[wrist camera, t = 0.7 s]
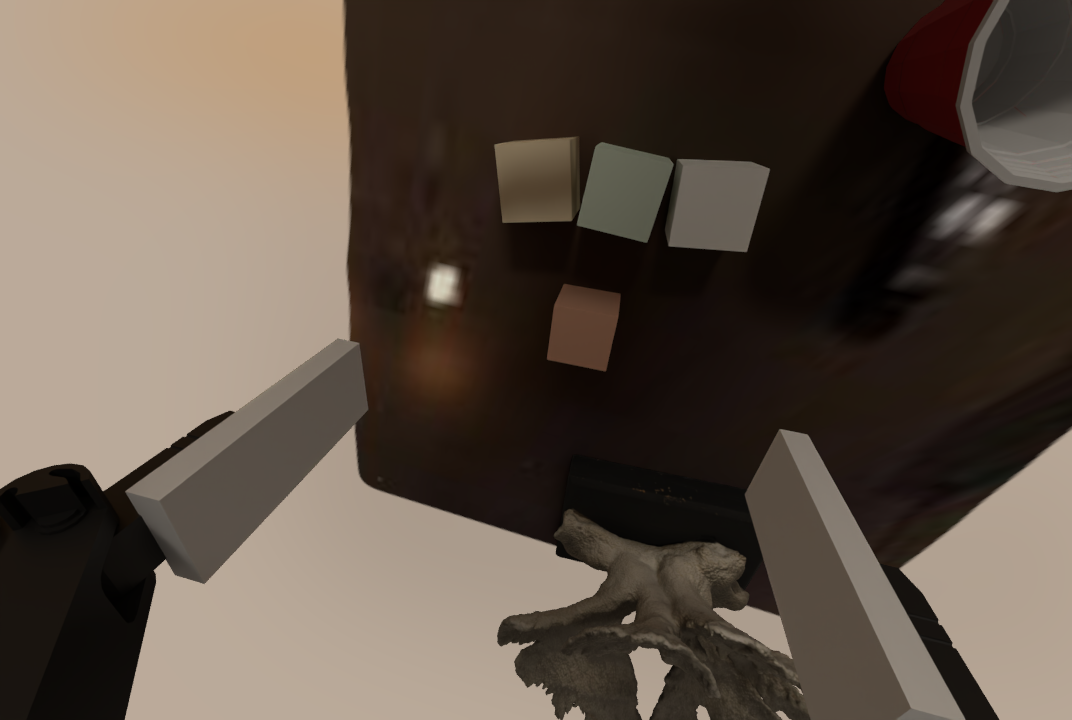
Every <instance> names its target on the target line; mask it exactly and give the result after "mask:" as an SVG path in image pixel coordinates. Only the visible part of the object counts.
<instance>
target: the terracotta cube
mask: <svg viewBox="0 0 1072 720" xmlns="http://www.w3.org/2000/svg"><path fill="white" fill-rule="evenodd" d="M620 296H621V294H619V293H614V292H608V291H602V290H597V289H591V288H585V287H580V286H574V285H568V284H564V285H563V287H562V289H561V291H560V294H559V296H558V298H557V300H556V302H555V305H554V311H553V318H552V325H551V333H550V340H549V347H548V354H547V360H551V361H556V362H561V363H566V364H571V365H576V366H581V367H586V368H591V369H596V370H601V371H606V368H607V364H608V360H609V355H610V351H611V347H612V342H613V338H614V334H615V329H616V325H617V321H618V316H619V306H620Z"/></svg>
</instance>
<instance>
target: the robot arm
mask: <svg viewBox="0 0 1072 720" xmlns="http://www.w3.org/2000/svg"><path fill="white" fill-rule="evenodd" d="M367 410H368V404H367V397H366V390H365V382H364V375H363V368H362V360H361V353H360V346H359V343H356V342H351V341H347V340H341V339H337V340H335V341H334V342H333V343H331V344H330V345H328V346H327V347H326V348H324V349H323V350H321V351H320V352H319V353H317V354H316V355H315V356H313V357H312V358H310V359H309V360H307V361H306V362H305V363H303V364H302V365H301V366H299V367H298V368H296V369H295V370H294V371H292V372H291V373H290V374H288V375H287V376H285V377H284V378H282V379H281V380H280V381H278V382H277V383H275V384H274V385H273V386H271V387H270V388H269V389H267V390H266V391H264V392H263V393H261V394H260V395H259V396H258V397H256V398H255V399H253V400H252V401H250V402H249V403H248V404H246V405H245V406H244V407H242V408H241V409H239V410H238V411H236V412H233V411H228V412H226V413H223V414H221V415H219V416H216V417H214V418H212V419H210V420H207V421H205V422H204V423H202V424H201V425H199V426H198V427H197V428H195V429H194V430H192V431H191V432H189V433H188V434H187V436H186V437H182V438H181V439H179V440H178V441H176V442H175V443H173V444H172V445H171V447H170V448H166V449H165V450H163V451H162V452H160V453H159V454H157V455H156V456H154V457H153V458H152V459H150V460H149V461H147V462H146V463H144V464H143V465H141V466H140V467H138V468H137V469H136V470H134V471H133V472H131V473H130V474H128V475H127V476H126V477H124V478H123V479H121V480H120V481H118V482H117V483H115V484H114V485H113V486H111V487H109V488H108V489H107V490H105V491H102V490H101V488H100V486H99V485H98V483H97V481H96V480H95V478H94V477H93V475H92V474H91V472H90V471H89V470H88V469H87V468H86V467H84V466H83V465H77V464H62V465H54V466H51V467H47V468H43V469H40V470H36V471H33V472H31V473H29V474H27V475H24V476H22V477H20V478H18V479H15V480H14V481H12V482H11V483H9V484H7V485H6V486H4V487H3V488H1V489H0V720H125V715H126V711H127V707H128V702H129V698H130V693H131V689H132V685H133V681H134V676H135V672H136V667H137V663H138V659H139V654H140V650H141V646H142V641H143V637H144V632H145V628H146V624H147V620H148V615H149V611H150V606H151V602H152V597H153V593H154V588H155V585H156V574H155V572H154V571H153V570H154V569H156V568H157V567H158V566H159V565H160V564H161V563H162V562H163V561H164V560H165V559H166V560H167V562H168V564H169V566H170V567H171V569H172V571H173V572H174V574H175V575H177V576H180V577H183V578H187V579H190V580H193V581H197V582H200V583H203V584H204V583H206V582H207V581H208V580H209V578H210V577H211V576H212V575H213V574H214V573H215V572H216V571H217V570H218V569H219V568H220V566H222V565H223V563H225V561H226V560H227V559H228V558H229V557H230V556H231V555H232V554H233V553H234V552H235V551H236V550H237V549H238V548H239V547H240V545H241V544H242V543H243V542H244V541H245V540H246V539H247V538H248V537H249V536H250V535H251V534H252V533H253V532H254V531H255V529H256V528H257V527H258V526H259V525H260V524H261V523H262V522H263V521H264V520H265V519H266V518H267V517H268V516H269V514H271V512H272V511H273V510H274V509H275V508H276V507H277V506H278V505H279V504H280V503H281V502H282V501H283V500H284V499H285V498H286V496H288V494H289V493H290V492H291V491H292V490H293V489H294V488H295V487H296V486H297V485H298V484H299V483H300V482H301V481H302V480H303V478H304V477H305V476H306V475H307V474H308V473H309V472H310V471H311V470H312V469H313V468H314V467H315V465H317V464H318V463H319V461H320V460H321V459H322V458H323V457H324V456H325V455H326V454H327V453H328V452H329V451H330V450H331V449H332V448H333V446H334V445H335V444H336V443H337V442H338V441H339V440H340V439H341V438H342V437H343V436H344V435H345V434H346V433H347V432H348V431H349V430H350V429H351V427H352V426H353V425H354V424H355V423H356V422H357V421H358V420H359V419H360V418H361V417H362V416H363V415H364V414H365V413H366V411H367ZM745 498H746V501H747V504H748V508H749V511H750V515H751V518H752V521H753V525H754V528H755V532H756V535H757V539H758V542H759V545H760V549H761V552H762V556H763V559H764V562H765V566H766V569H767V573H768V576H769V579H770V583H771V586H772V590H773V593H774V597H775V600H776V603H777V607H778V610H779V614H780V617H781V620H782V624H783V627H784V631H785V634H786V637H787V641H788V644H789V647H790V651H791V654H792V658H793V661H794V665H795V668H796V672H797V675H798V678H799V682H800V685H801V689H802V692H803V695H804V699H805V702H806V706H807V709H808V712H809V716H810V719H811V720H999V718H998V717H997V715H996V713H995V712H994V710H993V708H992V707H991V705H990V704H989V702H988V700H987V699H986V697H985V695H984V694H983V692H982V690H981V689H980V687H979V685H978V684H977V682H976V680H975V679H974V677H973V676H972V674H971V673H970V671H969V669H968V667H967V666H966V664H965V663H964V661H963V659H962V658H961V656H960V654H959V653H958V651H957V650H956V649H955V648H953V647H952V641H951V640H950V638H949V636H948V635H947V633H946V631H945V630H944V628H943V627H942V625H939V624H938V618H937V617H936V615H935V613H934V612H933V610H932V608H931V607H930V605H929V604H928V602H927V600H926V599H925V597H924V595H923V594H922V593H921V591H920V590H919V589H918V588H916V586H915V585H914V584H913V583H912V582H911V581H910V580H909V579H908V578H907V577H906V576H905V575H904V574H903V573H902V572H901V571H900V569H899V568H896V567H892V566H887V565H883V564H879V563H878V561H877V559H876V557H875V555H874V553H873V552H872V550H871V548H870V546H869V544H868V543H867V541H866V539H865V537H864V535H863V534H862V532H861V530H860V528H859V526H858V525H857V523H856V521H855V519H854V517H853V516H852V514H851V512H850V510H849V508H848V507H847V505H846V503H845V501H844V499H843V497H842V496H841V494H840V492H839V490H838V488H837V487H836V485H835V483H834V481H833V479H832V478H831V476H830V474H829V472H828V470H827V469H826V467H825V465H824V463H823V461H822V460H821V458H820V456H819V454H818V452H817V451H816V449H815V447H814V445H813V443H812V441H811V440H810V438H809V436H808V435H806V434H802V433H797V432H792V431H787V430H782V429H779V431H778V433H777V435H776V437H775V439H774V440H773V442H772V444H771V446H770V448H769V450H768V452H767V454H766V455H765V457H764V459H763V461H762V463H761V465H760V467H759V469H758V471H757V472H756V474H755V476H754V478H753V480H752V482H751V484H750V486H749V487H748V489H747V491H746V493H745Z"/></svg>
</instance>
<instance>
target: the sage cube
mask: <svg viewBox="0 0 1072 720" xmlns="http://www.w3.org/2000/svg"><path fill="white" fill-rule="evenodd" d="M673 165H674V164H673V163H672V161H671V160H670V159H669V158H667V157H662V156H658V155H654V154H650V153H645V152H641V151H637V150H632V149H628V148H624V147H620V146H615V145H611V144H607V143H602V142H601V143H600V144H598V145H597V146H596V147H595V151H594V155H593V159H592V163H591V168H590V172H589V176H588V180H587V184H586V188H585V193H584V197H583V201H582V205H581V209H580V213H579V218H578V222H577V226H581V227H585V228H589V229H593V230H597V231H601V232H605V233H609V234H613V235H617V236H621V237H625V238H629V239H633V240H637V241H641V242H645V243H647V242H648V239H649V236H650V233H651V230H652V227H653V224H654V221H655V218H656V215H657V212H658V209H659V207H660V204H661V201H662V198H663V195H664V192H665V189H666V186H667V183H668V180H669V177H670V174H671V171H672V168H673Z"/></svg>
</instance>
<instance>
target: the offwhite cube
mask: <svg viewBox="0 0 1072 720" xmlns="http://www.w3.org/2000/svg"><path fill="white" fill-rule="evenodd" d="M769 171H770V169H769V168H766V167H764V166H761V165H758V164H756V163H753V162H743V161H716V160H689V159H677V163H676V168H675V174H674V180H673V186H672V191H671V197H670V203H669V208H668V214H667V220H666V226H665V233H666V237H667V242H668V246H671V247H685V248H698V249H712V250H726V251H740V252H747V249H748V246H749V242H750V239H751V235H752V232H753V228H754V225H755V221H756V217H757V214H758V210H759V207H760V203H761V200H762V196H763V193H764V189H765V185H766V182H767V178H768V175H769Z"/></svg>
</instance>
